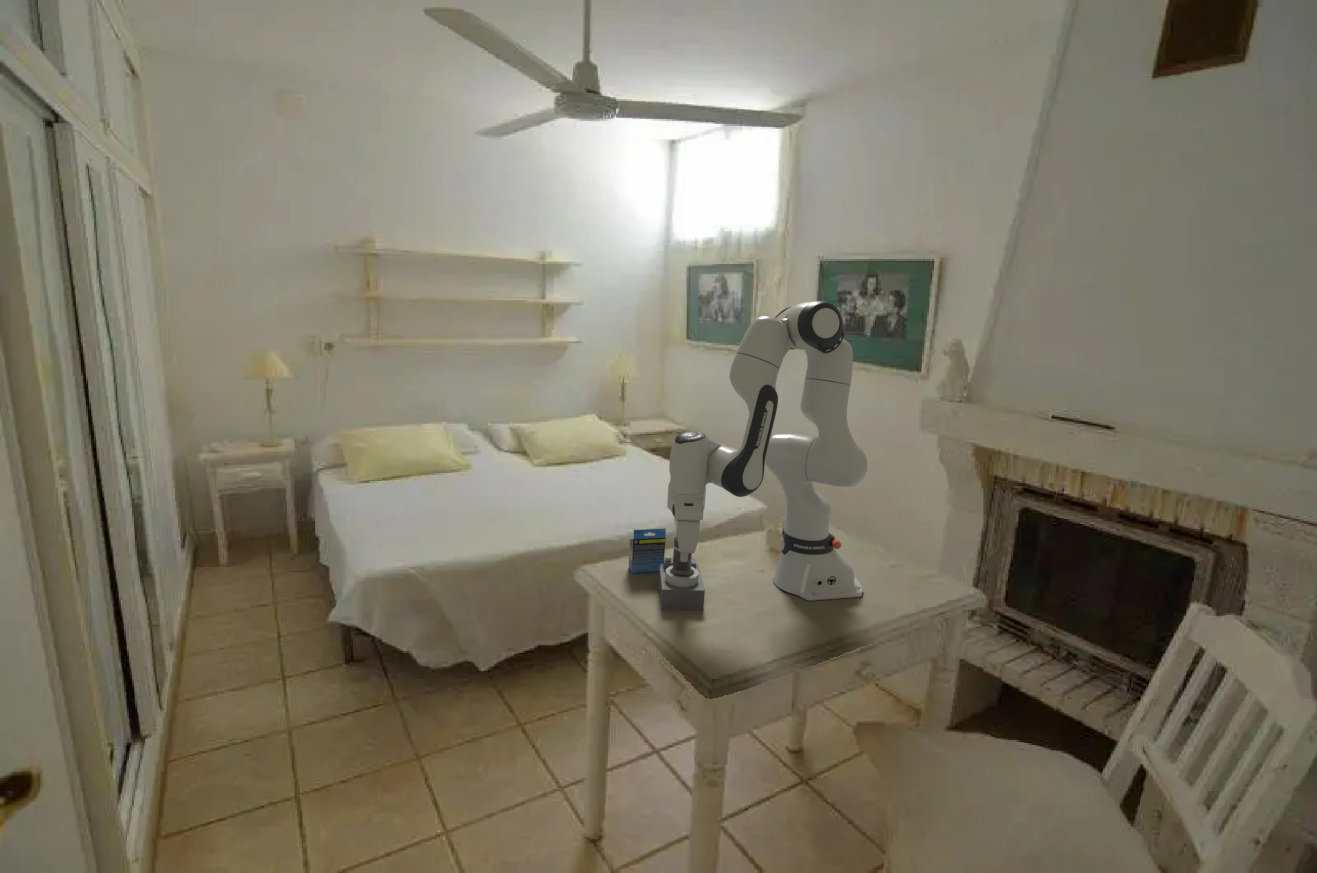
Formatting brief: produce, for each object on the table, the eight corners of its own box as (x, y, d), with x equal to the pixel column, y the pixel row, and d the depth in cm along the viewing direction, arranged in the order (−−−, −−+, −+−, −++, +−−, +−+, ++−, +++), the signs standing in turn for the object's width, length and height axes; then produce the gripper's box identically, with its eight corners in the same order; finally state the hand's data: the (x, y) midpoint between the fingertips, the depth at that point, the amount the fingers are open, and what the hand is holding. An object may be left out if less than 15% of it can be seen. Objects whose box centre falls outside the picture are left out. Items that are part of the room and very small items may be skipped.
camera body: (697, 582, 169) (699, 555, 168) (703, 610, 156) (705, 580, 154) (658, 582, 169) (660, 554, 167) (661, 609, 155) (662, 579, 153)
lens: (690, 563, 161) (692, 535, 160) (691, 571, 157) (693, 543, 155) (671, 562, 161) (673, 535, 159) (673, 570, 157) (674, 542, 155)
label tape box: (660, 565, 179) (662, 522, 176) (664, 572, 175) (666, 528, 172) (628, 567, 176) (629, 524, 173) (631, 574, 172) (633, 530, 170)
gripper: (670, 486, 165) (667, 538, 168) (675, 515, 145) (672, 573, 148) (695, 487, 165) (692, 539, 168) (704, 516, 145) (700, 574, 149)
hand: (682, 555), depth 158 cm, fingers closed on lens, 4 cm apart
